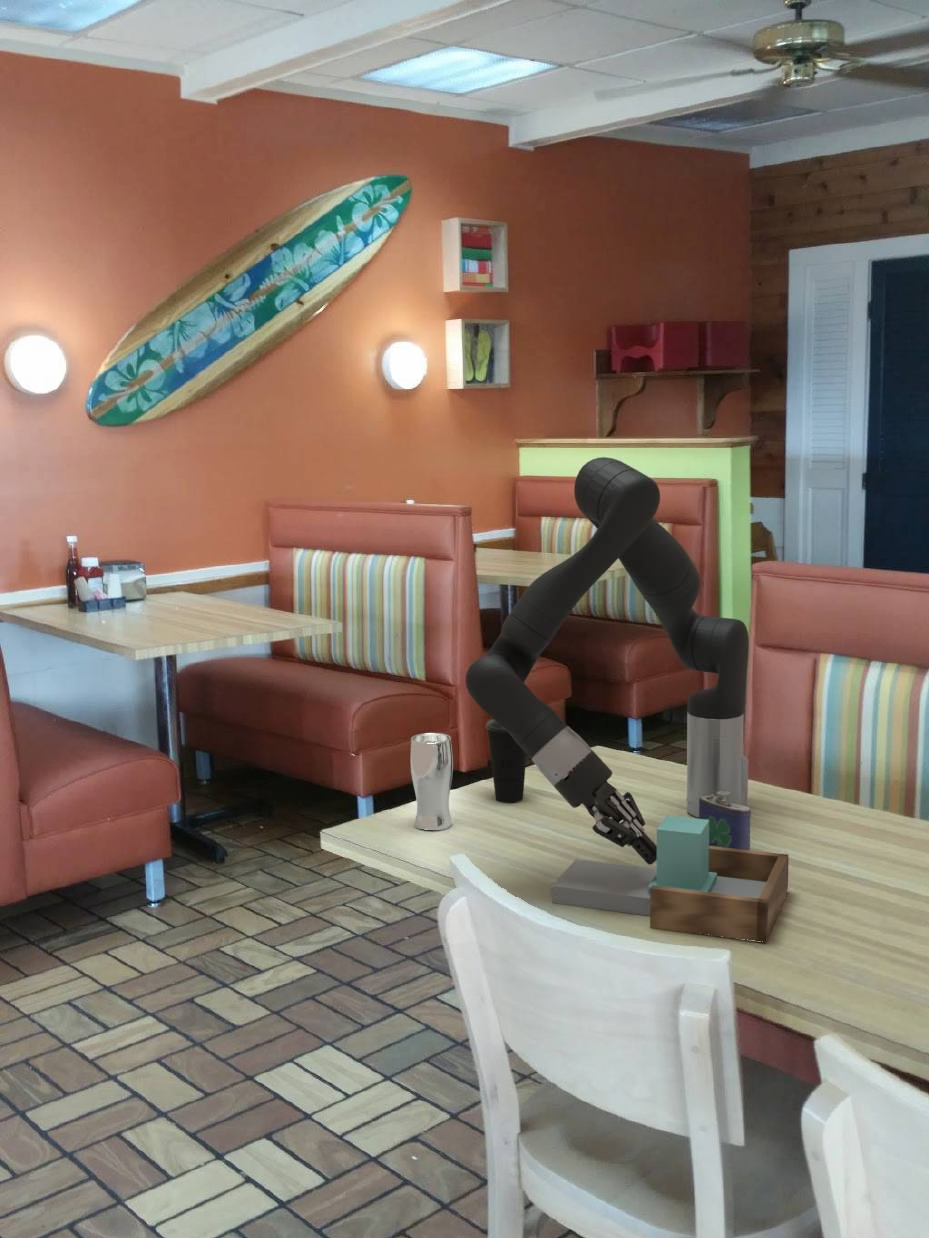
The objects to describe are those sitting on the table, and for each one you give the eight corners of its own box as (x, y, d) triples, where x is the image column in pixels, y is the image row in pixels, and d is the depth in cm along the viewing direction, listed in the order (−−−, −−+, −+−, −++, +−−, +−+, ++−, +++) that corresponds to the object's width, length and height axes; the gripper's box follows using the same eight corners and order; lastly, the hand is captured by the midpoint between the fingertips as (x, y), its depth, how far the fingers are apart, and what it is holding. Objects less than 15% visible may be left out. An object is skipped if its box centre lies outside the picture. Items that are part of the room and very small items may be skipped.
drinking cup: (485, 793, 230) (482, 684, 226) (527, 791, 231) (526, 682, 227) (489, 806, 223) (487, 694, 219) (533, 804, 223) (531, 692, 220)
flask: (753, 864, 193) (754, 795, 191) (741, 869, 191) (742, 800, 189) (704, 849, 200) (705, 782, 198) (692, 853, 198) (692, 786, 196)
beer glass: (449, 833, 210) (447, 744, 207) (408, 831, 211) (405, 742, 209) (458, 819, 216) (456, 732, 214) (418, 817, 218) (415, 731, 215)
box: (650, 927, 171) (650, 888, 170) (681, 878, 188) (682, 842, 187) (765, 943, 166) (766, 903, 165) (787, 891, 182) (788, 854, 181)
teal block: (647, 893, 176) (647, 830, 175) (660, 873, 184) (661, 812, 182) (706, 900, 173) (706, 837, 172) (717, 879, 181) (717, 818, 179)
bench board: (552, 902, 180) (552, 885, 180) (576, 874, 190) (575, 858, 190) (753, 929, 170) (753, 912, 169) (767, 899, 180) (767, 882, 179)
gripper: (568, 770, 189) (650, 859, 186) (538, 796, 177) (624, 892, 174) (603, 738, 186) (686, 828, 183) (574, 762, 174) (663, 859, 171)
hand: (656, 859), depth 179 cm, fingers closed
